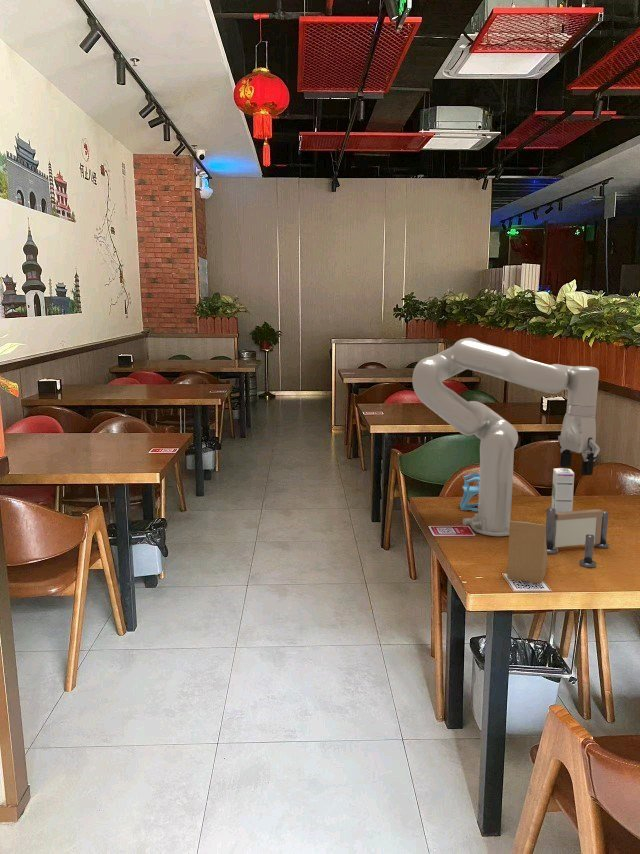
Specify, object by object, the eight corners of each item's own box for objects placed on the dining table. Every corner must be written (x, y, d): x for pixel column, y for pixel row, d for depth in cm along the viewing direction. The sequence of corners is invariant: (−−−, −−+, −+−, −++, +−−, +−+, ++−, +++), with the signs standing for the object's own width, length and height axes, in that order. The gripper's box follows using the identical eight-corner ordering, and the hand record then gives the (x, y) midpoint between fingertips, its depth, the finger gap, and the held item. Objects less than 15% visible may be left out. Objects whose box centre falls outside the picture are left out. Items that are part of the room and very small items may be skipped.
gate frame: (569, 570, 166) (573, 525, 163) (535, 548, 181) (538, 507, 178) (641, 562, 171) (645, 519, 169) (601, 542, 186) (605, 502, 184)
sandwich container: (549, 562, 171) (553, 508, 168) (542, 584, 157) (546, 525, 155) (515, 557, 175) (518, 503, 172) (506, 578, 161) (509, 520, 158)
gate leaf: (555, 547, 178) (558, 514, 176) (551, 545, 180) (553, 512, 178) (600, 543, 181) (603, 511, 180) (595, 541, 183) (598, 509, 182)
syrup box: (572, 516, 210) (575, 472, 207) (553, 515, 210) (556, 471, 208) (568, 511, 215) (571, 468, 213) (550, 510, 216) (553, 467, 213)
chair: (458, 505, 221) (459, 471, 219) (483, 505, 221) (484, 471, 219) (462, 512, 213) (463, 476, 211) (487, 512, 213) (489, 477, 211)
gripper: (551, 406, 188) (546, 464, 191) (589, 416, 172) (583, 479, 175) (573, 406, 190) (568, 463, 193) (613, 415, 174) (607, 477, 177)
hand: (575, 470), depth 184 cm, fingers open, 9 cm apart
